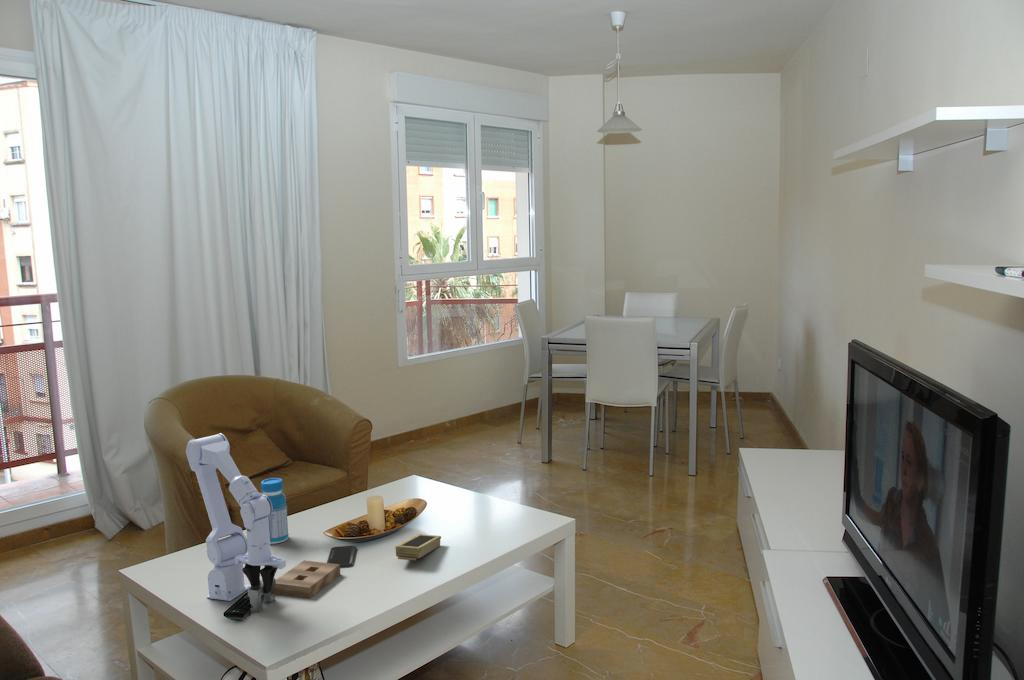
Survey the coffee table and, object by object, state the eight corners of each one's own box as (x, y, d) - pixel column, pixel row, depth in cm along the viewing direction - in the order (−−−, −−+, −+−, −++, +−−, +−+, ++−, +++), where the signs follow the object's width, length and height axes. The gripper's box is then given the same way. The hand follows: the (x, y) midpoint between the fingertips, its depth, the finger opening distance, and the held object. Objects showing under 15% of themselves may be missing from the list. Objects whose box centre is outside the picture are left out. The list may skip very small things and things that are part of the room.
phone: (356, 545, 250) (352, 564, 235) (356, 548, 250) (352, 567, 235) (331, 547, 249) (325, 566, 234) (331, 550, 249) (325, 569, 234)
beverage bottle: (282, 545, 254) (278, 484, 251) (257, 544, 255) (253, 484, 253) (293, 535, 262) (289, 477, 260) (269, 534, 263) (265, 476, 261)
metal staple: (258, 612, 207) (257, 590, 206) (249, 611, 208) (247, 589, 207) (276, 599, 214) (275, 578, 214) (267, 598, 215) (265, 577, 215)
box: (394, 563, 233) (394, 546, 233) (419, 547, 255) (420, 531, 255) (420, 565, 231) (421, 548, 232) (444, 549, 253) (444, 533, 253)
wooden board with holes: (310, 598, 215) (309, 587, 214) (272, 593, 218) (271, 582, 218) (340, 574, 230) (339, 564, 229) (304, 570, 233) (303, 560, 233)
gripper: (291, 539, 211) (294, 587, 212) (245, 534, 215) (248, 582, 217) (275, 549, 204) (278, 599, 206) (228, 544, 208) (232, 593, 210)
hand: (262, 591), depth 211 cm, fingers closed on metal staple, 3 cm apart
